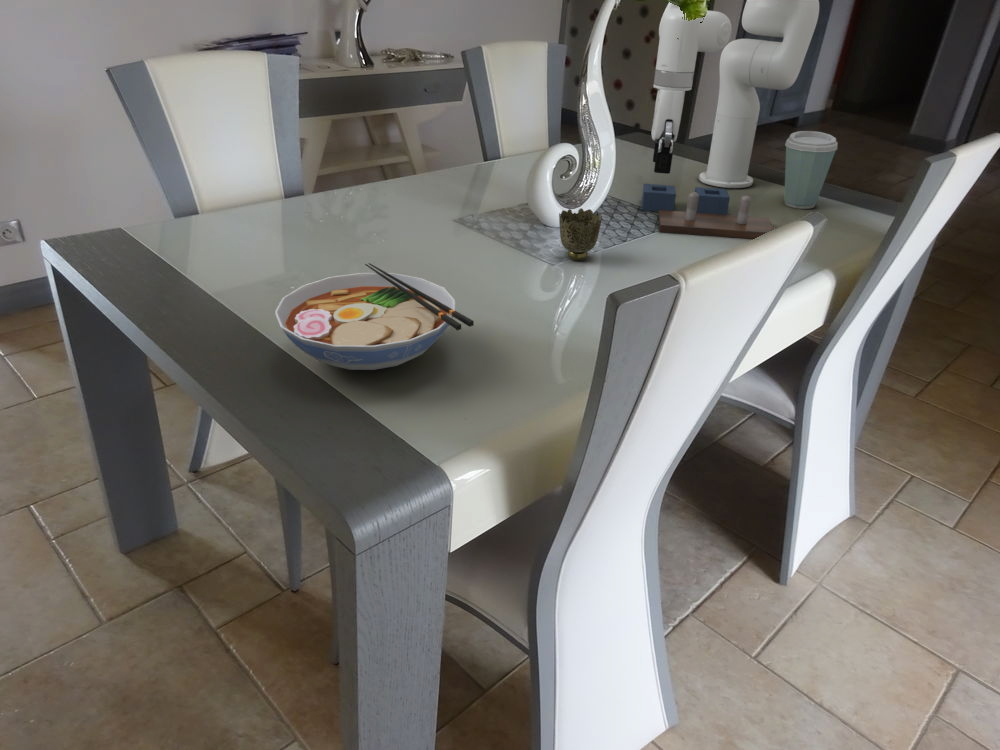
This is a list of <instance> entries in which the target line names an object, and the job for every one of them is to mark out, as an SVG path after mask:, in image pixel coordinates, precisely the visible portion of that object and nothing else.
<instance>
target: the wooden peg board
mask: <svg viewBox="0 0 1000 750" xmlns="http://www.w3.org/2000/svg"><path fill="white" fill-rule="evenodd" d="M698 199H699V195H698V193H696V192H695V191H692V192H690V193H689V194H688V197H687V204H686V211H682V210H681V211H680V210H679V211H678V210H674V211H667V210H659V212H658V214H657V219H658V231H659V233H664V234H665V233H666V234H679V235H681V234H682V235H693V236H708V237H721V238H732V239H733V238H735V239H738V238H739V239H747V240H748V239H749V240H756V239H755V238H757V237H759V236H761V235H763V234H765V233H767V232H769V231H772V230H774V229H775V227H774V225H773V222H772V221H771V219H770V217H766V216H753V215H749V214H750V208H751V203H752V198H751V196H750V195H747V194H746V195H745V194H744V195H742V196H741V197H740V201H739V206H738V211H737V214H727V215H725V214H711V213H696V212H697V206H698Z"/></svg>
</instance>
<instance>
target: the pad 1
mask: <svg viewBox="0 0 1000 750" xmlns="http://www.w3.org/2000/svg"><path fill="white" fill-rule="evenodd" d="M676 197H677V191H676V187H675V185H672V184H671V185H669V184H654V183H653V184H652V183H643V186H642V194H641V211H644V212H658V213H659V210H667V211H675V204H676Z"/></svg>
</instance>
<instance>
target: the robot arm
mask: <svg viewBox="0 0 1000 750" xmlns="http://www.w3.org/2000/svg"><path fill="white" fill-rule="evenodd" d="M706 10H707V9H706ZM819 14H820V1H819V0H746V2H745V4H744V8H743V10H742V16H741V26H742V28H743V30H744V31H745V32H747V33H749V34H752V35H757V36H763V37H765V36H766V37H774V38H782V41H774V40H773V41H772V40H765V39H756V38H755V39H754V38H738V39H734V40H732V41H730V39H731V36H732V29H733V27H732V23H731V20H730V18H729V17H728V16H727V15H726V14H725V13H723V12H721V11H717V10H707V14H706V16H705V17H703V18H704V20H703V18H696V19H695V20H693V19H692V20H690V21H688V18H687V20H686V13H685V20H684V14H683V11H681V10H680V7H679V6H677V5H674V4H672V3H670V2H669V1H668V3H667V5H666V7H665V10H664V12H663V13H662V16H661V19H660V22H659V26H658V37H659V41H658V48H657V55H656V63H655V69H654V70H655V71H654V80H653V87H652V88H654V89H657V93H656V99H655V103H654V104H655V105H654V112H653V119H652V125H651V139H652V141H654V149H653V156H652V162H653V163H654V168H653V171H654V173H655V174H667V175H668V174H670V173H671V170H672V169H671V168H672V164H673V163H672V162H673V157H674V154H673V149H674V143H675V142H676V141H677V139H678V136H679V131H680V125H681V120H682V114H683V108H684V102H685V95H686V91H687V92H688V91H691V90H692V87H693V83H694V75H695V70H696V69H695V68H696V62H697V56H698V53H699V52H700V53H709V54H710V53H717V52H718V51H719V52H720V51H721V50H722V52H721V54H720V57H719V86H718V87H719V89H718V97H717V98H718V99H717V105H716V112H715V118H714V124H713V131H712V136H711V143H710V148H709V156H708V162H707V167H706V171H702V172H700V173H699V176H698V180H699V182H701V183H702V184H705V185H708V186H712V187H717V188H722V189H744V188H749V187H751V186H752V185H753V183H754V178H753V177H752V176H750V175H749V169H750V168H749V167H750V163H751V159H752V158H751V157H752V152H753V148H754V142H755V138H756V131H757V126H758V121H759V115H760V110H761V103H760V99H759V95H758V93H757V90H756V88H761V89H768V90H777V91H783V90H787V89H789V88H790V87H792V86H793V85H794V84H795V82H796V80H797V79H798V77H799V74H800V72H801V70H802V67H803V63H804V62H805V61H804V60H805V58H806V54H807V53H808V50H809V47H810V44H811V41H812V39H813V38H812V37H813V36H814V33H815V30H816V27H817V24H818V20H819ZM682 17H683V19H682ZM702 21H703V22H702ZM700 22H702V23H700ZM677 38H679V40H678V39H677ZM655 141H656V142H655Z"/></svg>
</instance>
